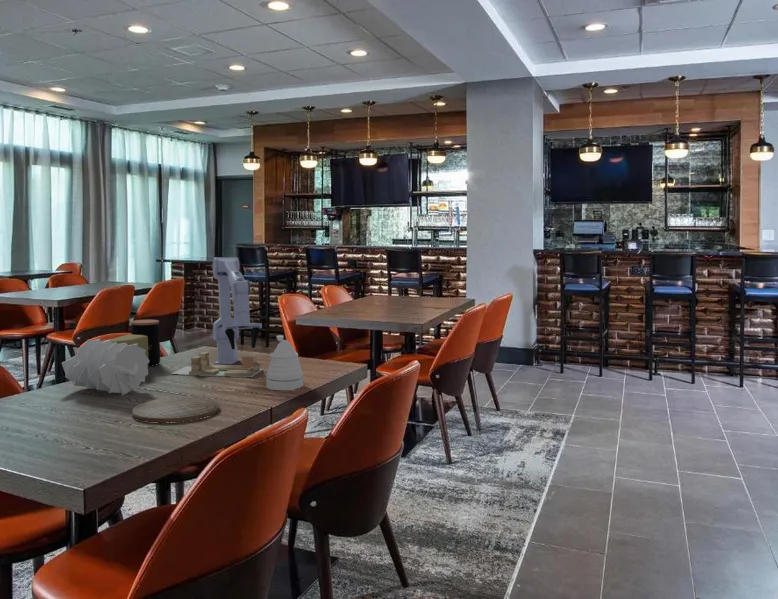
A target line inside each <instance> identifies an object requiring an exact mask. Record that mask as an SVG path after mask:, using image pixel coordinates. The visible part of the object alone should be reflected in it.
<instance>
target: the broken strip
mask: <svg viewBox="0 0 778 599" xmlns="http://www.w3.org/2000/svg"><path fill="white" fill-rule="evenodd" d="M190 361H191V362H190V367H191V370H190V371H189V374H208V375H215V374H216V373H218V372H219V369H202V358H201V356H199V355H195V356H192V357H191V358H190ZM252 374H254V367H250V368H248V369H247V370H228V371H226V372H224V375H235V376H251V375H252Z"/></svg>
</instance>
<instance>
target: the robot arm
mask: <svg viewBox="0 0 778 599" xmlns="http://www.w3.org/2000/svg"><path fill="white" fill-rule="evenodd" d="M212 275H213V278H214V279H217V283H218V301H219V302H218V304H219V305H218V306H219V318H217V320H215V321H214V322H213V324H212V339H213V341H215V342H216V357H217V359H216V361H214V362H213V364H215V365H234V364H235V363H237V362H239V361H241V360H240V359H239V358H238V344H237V340H238V339H239V337H240V330H247V329H248V330H249V329H250V330H249V331H250V339H251V340H250V341H251V342H250V343H251V344H250V345H251V348H252V349H255V348H256V343H257V339H258V335H259V334H260V332H261V329H262V328H263V324H262V322H260V323H259V322H258V323H256V322H255V323H251V317H250V316H251V315H250V314H251V312H250V297H249V296H250V295H251V284H250V280H249V279H245V277H244V276H243V273H242V272H240V260H239V258H238V256H235V257H217V256H216V257H215V256H214V258H213V259H212ZM231 298H232V300H231ZM232 301H233V317H234V318H233V317H232Z"/></svg>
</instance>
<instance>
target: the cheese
mask: <svg viewBox="0 0 778 599" xmlns="http://www.w3.org/2000/svg"><path fill="white" fill-rule="evenodd" d="M109 340H111V342H112V343H115V342H116V343H117V344H122V343H127V344H128V346H129V345H133V344H138V347H140V348H143V349H145V350H146V352H145V355H146V356H147V358H148V337H147V336H145V335H131V334H125V335H121V336H116V337H114V338H111V339H109ZM100 341H101V340H100ZM104 341H107V340H102V341H101V342H104ZM147 368H148V369H149V367H148V364H147Z"/></svg>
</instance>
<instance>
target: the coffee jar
mask: <svg viewBox="0 0 778 599" xmlns="http://www.w3.org/2000/svg"><path fill="white" fill-rule="evenodd" d="M130 323H131V325H132V326H131V328H130V329H131V330H130V331H131V334H130V335H145V336H147V337H148V359H149V361H150V362H149V363H148V366H152V365H156V364H158V365H160V362H161V342H160V341H161V340H160V339H161V338H160V337H161V335H160V326H159V324H160V320H158V319H136V320H131V321H130ZM152 367H153V366H152Z"/></svg>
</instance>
